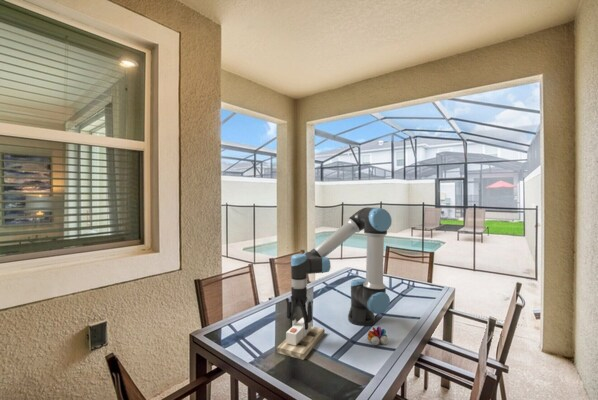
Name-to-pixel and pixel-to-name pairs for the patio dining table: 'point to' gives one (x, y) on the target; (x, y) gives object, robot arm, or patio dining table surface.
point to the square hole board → (302, 344)
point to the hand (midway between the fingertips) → (299, 334)
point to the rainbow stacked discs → (378, 336)
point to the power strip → (296, 332)
